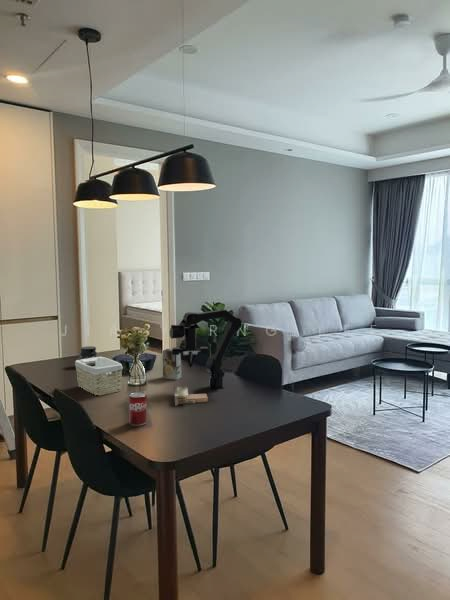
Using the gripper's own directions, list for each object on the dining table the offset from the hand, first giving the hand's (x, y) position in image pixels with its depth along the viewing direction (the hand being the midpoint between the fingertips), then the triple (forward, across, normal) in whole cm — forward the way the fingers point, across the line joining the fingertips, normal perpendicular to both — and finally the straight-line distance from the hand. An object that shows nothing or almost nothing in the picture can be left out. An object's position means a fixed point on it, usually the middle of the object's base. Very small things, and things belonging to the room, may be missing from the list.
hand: (190, 367), depth 237 cm
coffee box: (+12, +9, -26) cm, 30 cm away
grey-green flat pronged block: (+12, +4, +17) cm, 21 cm away
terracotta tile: (+12, 0, +17) cm, 21 cm away
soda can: (+12, +24, +46) cm, 53 cm away
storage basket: (+12, +47, -7) cm, 49 cm away
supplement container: (+12, +61, -61) cm, 87 cm away
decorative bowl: (+12, +32, -49) cm, 60 cm away
